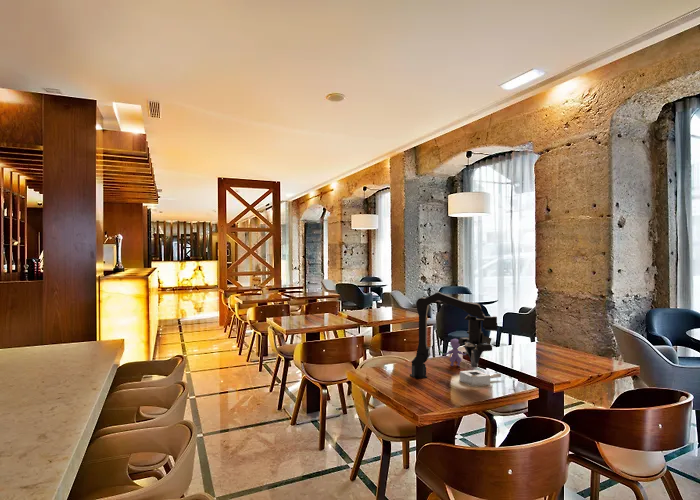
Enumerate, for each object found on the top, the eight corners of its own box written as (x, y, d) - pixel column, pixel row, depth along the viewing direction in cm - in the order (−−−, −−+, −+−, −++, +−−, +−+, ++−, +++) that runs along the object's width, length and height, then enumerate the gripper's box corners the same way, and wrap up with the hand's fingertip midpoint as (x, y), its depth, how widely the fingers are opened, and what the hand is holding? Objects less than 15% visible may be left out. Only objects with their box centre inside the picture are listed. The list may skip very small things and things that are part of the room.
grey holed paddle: (472, 386, 185) (472, 377, 185) (459, 380, 194) (459, 371, 195) (507, 382, 192) (507, 373, 192) (493, 377, 201) (493, 368, 201)
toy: (470, 365, 224) (471, 338, 224) (472, 367, 218) (473, 340, 218) (437, 363, 225) (437, 337, 226) (438, 366, 220) (438, 339, 220)
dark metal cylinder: (473, 367, 190) (474, 350, 190) (469, 366, 193) (469, 349, 193) (479, 367, 191) (479, 350, 191) (475, 365, 194) (475, 348, 194)
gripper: (501, 332, 186) (501, 365, 186) (476, 325, 204) (475, 356, 203) (482, 333, 182) (481, 367, 182) (457, 326, 200) (457, 357, 199)
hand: (474, 362), depth 192 cm, fingers closed on dark metal cylinder, 3 cm apart
